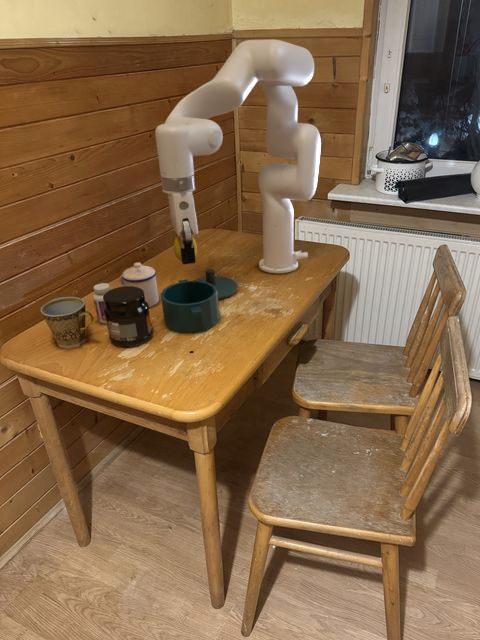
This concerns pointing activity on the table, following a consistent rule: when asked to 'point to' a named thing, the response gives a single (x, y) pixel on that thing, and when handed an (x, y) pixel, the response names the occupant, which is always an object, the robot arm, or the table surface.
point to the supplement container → (127, 316)
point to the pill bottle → (100, 300)
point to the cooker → (190, 306)
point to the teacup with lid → (142, 281)
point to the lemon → (178, 245)
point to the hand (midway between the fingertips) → (186, 257)
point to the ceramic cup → (67, 320)
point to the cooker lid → (219, 283)
